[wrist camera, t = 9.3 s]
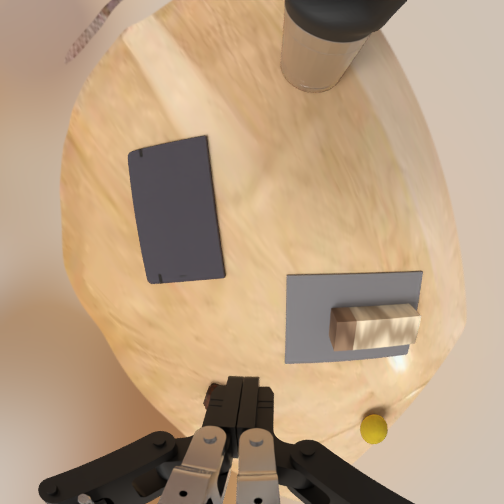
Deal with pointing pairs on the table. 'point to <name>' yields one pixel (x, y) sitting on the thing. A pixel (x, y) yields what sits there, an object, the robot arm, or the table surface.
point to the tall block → (373, 326)
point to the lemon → (373, 429)
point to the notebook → (176, 211)
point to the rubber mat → (338, 296)
